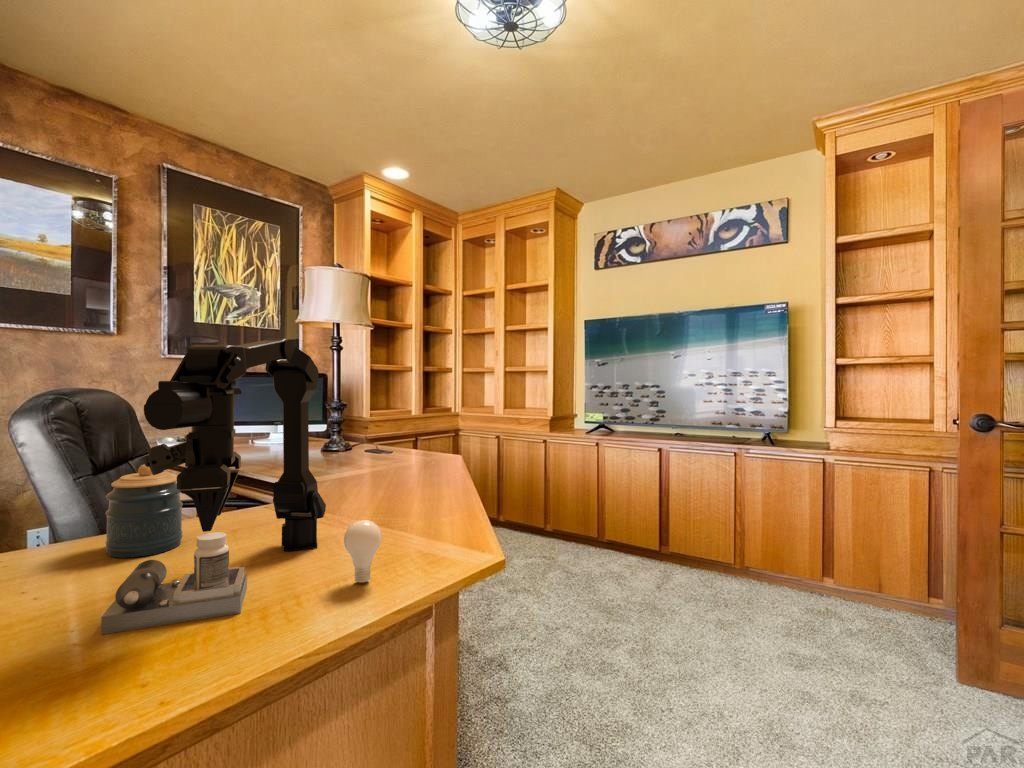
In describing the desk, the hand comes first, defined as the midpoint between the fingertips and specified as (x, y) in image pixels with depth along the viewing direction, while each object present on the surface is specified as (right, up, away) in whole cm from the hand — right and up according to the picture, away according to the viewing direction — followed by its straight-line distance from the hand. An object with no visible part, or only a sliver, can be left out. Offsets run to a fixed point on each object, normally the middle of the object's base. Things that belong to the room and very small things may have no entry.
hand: (211, 523), depth 78 cm
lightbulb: (+21, -13, +9) cm, 27 cm away
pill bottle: (0, -11, 0) cm, 11 cm away
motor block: (-4, -13, -2) cm, 13 cm away
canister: (-30, -13, +25) cm, 41 cm away
